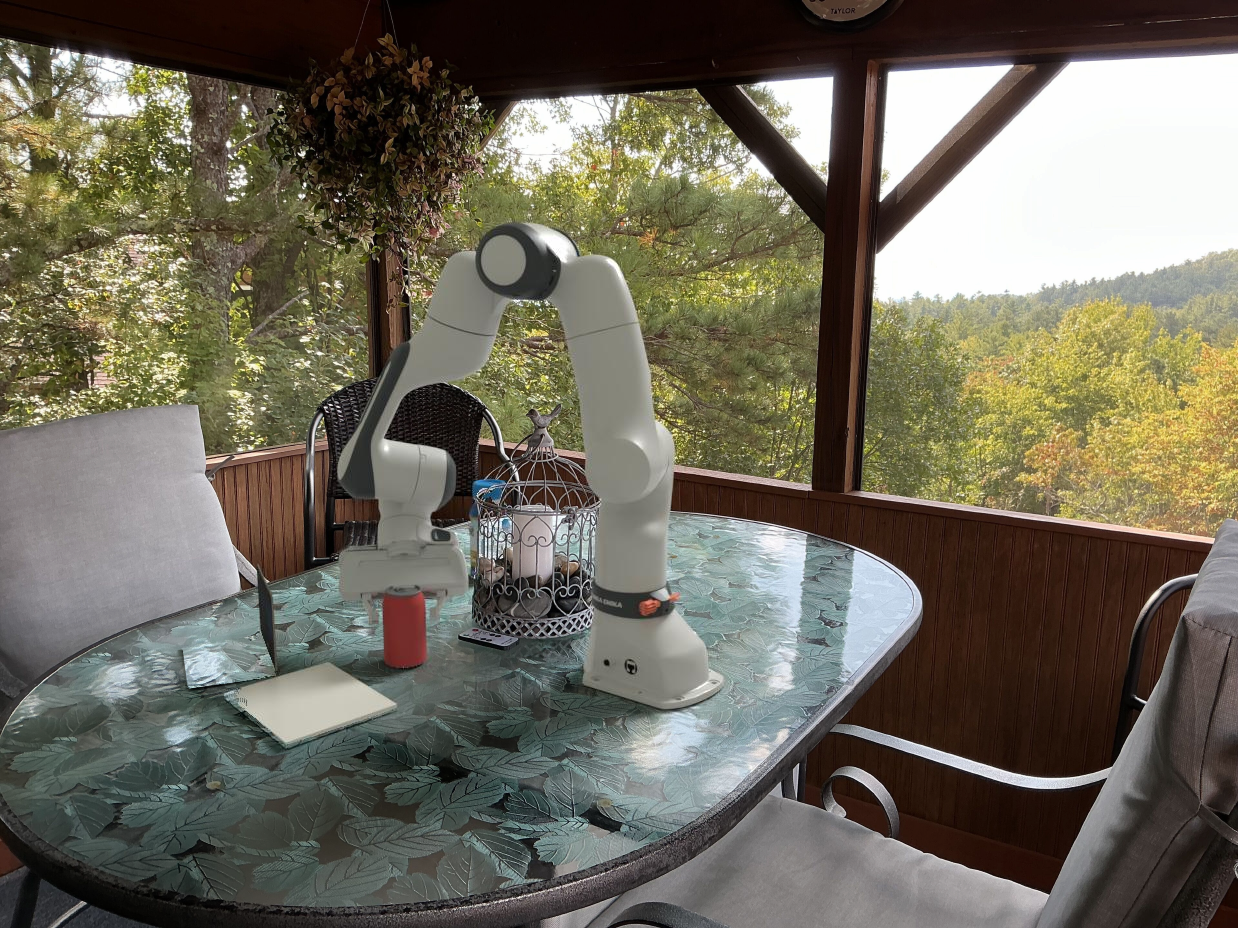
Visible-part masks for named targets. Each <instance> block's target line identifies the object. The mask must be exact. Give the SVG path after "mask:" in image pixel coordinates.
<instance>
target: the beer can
mask: <svg viewBox="0 0 1238 928" xmlns="http://www.w3.org/2000/svg"><path fill="white" fill-rule="evenodd" d="M385 593H386V594H385V596H384V599H383V600H382V602H381V603H382V605H381V608H382V609H381V610H382V612H381V613H382V637H383V638H382V639H383V640H382V641H383V660H384V663H385V665H387V666H388V667H390V666H392V667H391V668H393V667H398V668H397V669H399V668H403V667H404V668H407V667H413V668H415V667H414V666H416V667H418V666H417V665H419V666H421V665H422V664H424V663H425V662H426V661H427V657H428V649H427V648H428V646H427V642H428V641H427V615H426V614H427V612H426V611H427V610H426V608H427V607H426V603H427V602H426V598H424V596H423V593H422V588H421V587H420V586H418V585H415V588H400V587H396V588H393V586H391V587H389V588H387V589H386V590H385ZM421 663H422V664H421ZM420 664H421V665H420ZM407 669H408V668H407Z"/></svg>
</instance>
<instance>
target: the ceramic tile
mask: <svg viewBox="0 0 1238 928" xmlns="http://www.w3.org/2000/svg"><path fill="white" fill-rule="evenodd" d="M240 688H241V689H242V690H240V689H239V690H238V692H239V694H238V692H237V694H236V692H235V694H236V695H237V698H239V702H238V705H239V706H240V707H242V708H245V709H244V710H245V711H247V712H248V713H249V714H250V715H252V716H253V717H254V718H256V719H257V720H258V721H259V722H260V723H261V724H262V725H263V726H265V727H266V728H268V730H270V732H272V733H273V734H274V735H275V736H277V737H278V738H279V739H280V740H281V741H282V742H283V743H285V744H286V745H287V744H291V743H293V742H297V741H300V740H304V739H306V738H309V737H314V736H317V735H319V734H322V733H325V732H328V731H331V730H334V729H337V728H340V727H344V726H347V725H350V724H352V723H355V722H358V721H362V720H364V719H367V718H371V717H373V716H376V715H380V714H382V713H384V712H387V711H390V710H392V709H395V708H397V709H398V703H396V702H394V701H393V700H392V699H389V698H388V697H386V696H385V695H383V694H381V693H380V692H378V691H376V690H375V689H373V688H371V687H370V686H368V685H367V684H365V683H364V682H362V681H361V680H358V679H357V678H355V677H354V676H352V675H350V674H349V673H347V672H346V671H344V670H342V669H341V668H339V667H337V666H336V665H334V664H333V663H331V662H329V661H326V662H323V663H319V664H316V665H313V666H310V667H307V668H303V669H300V670H296V671H293V672H290V673H285V674H281V675H280V676H275V677H271V678H267V679H265V680H262V681H258V682H256V683H252V684H248V685H244V686H241V687H240ZM226 695H227V694H226ZM228 697H229V694H228ZM229 698H234V697H231V695H230V697H229ZM235 698H236V697H235ZM240 698H241V702H240ZM242 698H243V702H242ZM244 698H245V703H244ZM246 700H247V706H246Z"/></svg>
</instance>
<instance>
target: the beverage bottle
mask: <svg viewBox="0 0 1238 928" xmlns="http://www.w3.org/2000/svg"><path fill="white" fill-rule="evenodd" d="M504 484H506V482H505V480H500V479H495V478H494V479H493V478H489V479H486V478H485V479H479V480H475V481H473V483H472V498H473V500H474V503H473V504H472V506H471V509H470V510H469V511H470V512H469V513H468V514H469V515H468V516H469V519H470V523H469V525H468V532H469V547H470V549H469V551H470V552H469V553H470V555H469V556H470V557H469V558H470V572H469V573H470V577H471V579H472V578H474V575H475V567H476V559H477V531H478V513H477V505H476V495H477V493H478V492H479V490H480V489H482V488H489V487H491V486H493V485H504ZM506 485H507V484H506ZM505 492H506V493H507V488H506V489H505ZM501 494H502V489H501V488H495V489H493V490H492V492H491V493H485V495H484V496H483V498H484V499H486V498H489V497H491V499H492V502H494V503H495V504H498V503H499V501H500V498H501ZM506 497H507V494H506V495H505V499H506ZM504 505H506V506H507V507H508V505H507V503H505V501H504ZM511 527H512V526H511V522H510V521H509V519H504V520H503V521H502V529H503V531H505V532H506V533H510V534H511V531H512V528H511ZM494 532H495V527H494ZM492 546H494V540H493V541H492ZM501 550H503V547H502V546H501ZM481 554H482V556H484V555H485V541H484V539H482V541H481Z"/></svg>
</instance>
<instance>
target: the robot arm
mask: <svg viewBox="0 0 1238 928" xmlns="http://www.w3.org/2000/svg"><path fill="white" fill-rule="evenodd" d="M513 300H521V301H523V300H524V301H537V302H541V301H542V302H543V301H545V300H546V301H548V302H550V303H551V304H552V305H553V306H554V307H555V308H556V310H557V312H558V314H559V317H560V321H561V323H562V328H563V332H564V337H565V341H566V344H567V345H566V346H567V349H568V354H569V358H570V362H571V365H572V370H573V374H574V380H575V383H576V388H577V392H578V398H579V399H578V401H579V410H580V423H581V432H582V433H581V434H582V441H583V449H584V456H585V461H584V462H585V464H584V472H585V473H584V475H585V479H586V483H587V484H588V486H589V488H590V490H591V491H592V492H593V493H594V494H595V495H596V496H597V497H598V498H600V505H599V512H598V518H597V524H596V527H595V531H594V533H595V534H594V535H595V537H594V578H593V580H592V582H591V590H590V596H591V605H592V607H593V615H592V621H591V625H590V632H589V640H588V648H587V652H586V657H585V660H584V663H583V665H582V667H583V669H582V670H583V672H584V673H583V676H582V681H581V682H582V684H583V686H586V687H589V688H593V689H596V690H599V691H603V692H606V693H609V694H612V695H615V696H618V697H622V698H625V699H628V700H632V701H634V702H638V703H641V704H644V705H648V706H651V707H654V708H658V709H662V710H671V709H673V710H674V709H678V708H684V707H688V706H691V705H694V704H697V703H699V702H701V701H704V700H706V699H708V698H710V697H712V696H714V695H716V694H717V693H718V692H719V691H720V690H721V689H722V688H723V687H724V684H725V681H724V680H725V679H724V678H725V677H724V675H722V674H720V673H719V672H717V671H714V669H711V668H710V667H709V655H708V650H707V649H708V648H707V647H706V646H707V645H706V644H705V642H704V641H703V640H702V639H701V637H699V635H698V634H697V632H695V631H694V630H693V629H692V627H691V626H690V625H689V624H688V623H687V622H686V620H684V618H683V617H682V616H681V614H679V612H678V611H677V610H676V609H675V608H676V604H675V602H677V601H680V600H681V598H680V597H679V596H680V595H681V593H680V592H677V593H674V594H673V593H672V589H671V587H670V583H669V581H668V580H667V577H668V576H667V572H668V567H667V566H668V536H669V535H668V533H669V524H670V523H669V522H670V514H671V506H672V496H673V495H672V494H673V486H674V485H673V484H674V474H675V472H674V471H675V459H676V458H675V456H676V447H675V442H674V439H673V437H672V434H671V431H669V429H668V428H667V427H666V426H665V425H664V424H663V423H662V422H660V421H658V420H656V418H655V409H654V403H653V402H654V401H653V391H652V373H651V370H650V365H649V361H648V357H647V351H646V348H645V344H644V343H645V342H644V337H643V335H642V329H641V326H640V323H639V321H640V320H639V318H638V313H637V310H636V305H635V303H634V300H633V297H632V294H631V292H630V289H629V286H628V283H627V282H626V278H625V276H624V274H623V272H622V269H621V268H620V266H619V265H618V263H617V261H615V260H614V259H613V258H611V257H609V256H607V255H606V256H605V255H603V254H602V255H601V254H585V255H582V251H581V249H580V248H579V246H578V244H577V243H576V242H575V240H574V239H573V238H572V237H571V236H570V235H568V234H567V233H565V232H564V231H562V230H559V229H557V228H552V227H548V226H546V225H543V224H541V223H533V222H518V221H512V222H511V221H510V222H509V221H508V222H505V223H501V224H499V225H496V226H494V227H492V228H491V229H490V230H488V231H487V232H486V233H485V234H484V235H483V237H482V238H481V239H480V241H479V242H478V245H477V247H476V251H475V250H462V251H459V252H456V253H454V254H453V255H451V256H450V257H449V259H448V260H447V261H446V263H445V264H444V267H443V269H442V271H441V273H440V276H439V278H438V279H437V282H436V285H435V288H434V290H433V293H432V296H431V299H430V302H429V305H428V308H427V313H426V316H425V319H424V320H423V323H422V325H421V327H420V328H419V329H418V331H417V332H416V333H415V335H413V337H411V338H410V339H409V340H408V341H404V342H400V343H398V344H397V346H396V347H395V348H394V349H393V350H392V352H391V353H390V356H389V357H388V359H387V361H386V363H385V365H384V366H383V369H382V371H381V373H380V375H379V377H378V379H377V381H376V383H375V385H374V388H373V389H372V392H371V394H370V396H369V399H368V401H367V403H366V405H365V407H364V409H363V411H362V414H361V416H360V419H359V421H358V422H357V423H356V426H355V429H354V431H353V432H352V433H351V436H350V438H349V439H348V441H347V442H346V444H345V446H344V448H343V450H342V451H341V453H340V456H339V459H338V463H337V477H336V478H337V481H338V483H339V484H340V486H341V487H342V488H343V489H344V491H346V493H347V494H348V495H349V496H350V497H352V498H353V499H360V500H361V499H362V500H378V510H379V514H380V519H379V522H378V526H377V544H367V545H366V544H365V545H361V546H360V545H350V546H348V548H345V549H343V550H342V551H341V552H340V553H339V555H338V568H339V569H340V573H339V578H338V594H339V597H340V598H341V599H342V600H343V601H344V602H362V607H363V608H364V610H365V612H366V613H367V614H368V625H371V626H373V625H374V626H375V625H379V624H380V611H379V610H378V609H373V607H372V606H373V601H381V600H382V601H383V599H384V596H385V594H386V593H385V590H386V589H387V588H389V587H391V586H393V588H396V587H400V588H415V585H418V586H420V587H421V588H422V593H423V596H424V598H425V599H426V598H436V604H435V606H432V607H429V622H439V621H440V612H441V611H442V609H443V607H444V606H445V604H446V601H447V598H448V597H463V596H465V595H466V594H467V593H468V591H469V574H468V573H469V572H468V567H467V561H466V558H465V554H464V552H463V550H462V549H461V548H460V538H459V535H458V533H457V532H456V531H454V530H450V529H446V528H441V527H438V526H434V525H432V521H431V516H432V513H433V512H437V511H439V510H440V509H441V508H442V507H444V506H445V505H446V504H447V503H448V502H450V501H451V500H452V498H453V497H454V494H455V491H456V487H457V486H456V485H457V467H456V463H455V461H454V459H453V458H452V456H451V455H450V453H449V452H448V451H447V450H446V449H442V448H438V447H434V446H428V445H423V444H413V443H407V442H402V441H396V440H392V439H391V440H390V439H386V438H385V435H386V434H387V432H388V429H389V427H390V425H391V423H392V421H393V419H394V417H395V414H396V412H397V410H398V409H399V406H400V403H401V401H402V400H403V398H404V397H405V396H406V395H407V394H408V393H411V391H413V390H416V389H418V388H421V387H425V386H429V385H435V384H440V383H449V382H454V381H455V382H456V381H460V380H462V379H465V378H468V377H469V376H472V375H474V374H475V373H477V372H478V371H479V370H481V369H482V368H483V367H484V366H486V363H487V362H488V360H489V358H490V356H491V353H492V351H493V348H494V346H495V345H494V344H495V341H496V338H497V336H498V335H497V334H498V331H499V327H500V324H501V323H500V322H501V320H502V317H503V314H504V312H505V310H506V307H507V306H508V305H509V304H510V303H511V302H512V301H513Z"/></svg>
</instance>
